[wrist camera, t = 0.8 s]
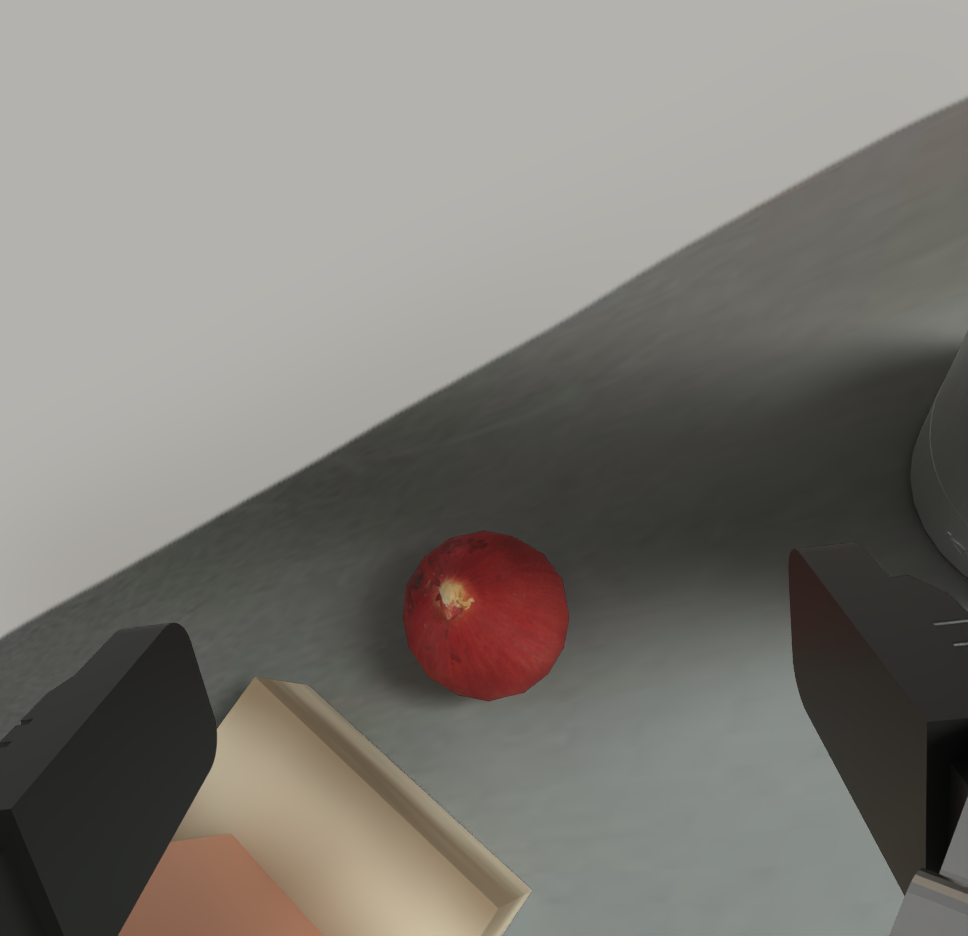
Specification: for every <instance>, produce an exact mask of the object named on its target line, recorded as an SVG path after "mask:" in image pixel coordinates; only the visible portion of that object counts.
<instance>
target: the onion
mask: <svg viewBox="0 0 968 936" xmlns="http://www.w3.org/2000/svg"><path fill="white" fill-rule="evenodd" d="M403 621H404V626H405V631H406V636H407V640H408V645H409V648H410V650H411V651H412V653H413V655H414V656H415V658H416V659H417V661H418V662H419V664H420V665H421V667H422V668H423V670H424V671H425V673H426V674H427V675H428V677H430V678H432V679H433V680H435V681H436V682H438V683H440V684H441V685H443V686H444V687H446V688H447V689H449V690H451V691H452V692H454V693H456V694H458V695H460V696H465V697H470V698H475V699H480V700H484V701H492V700H495V699H499V698H503V697H507V696H512V695H516V694H521V693H524V692H526V691H527V690H528V689H529V688H531V687H532V686H533V685H535V684H536V683H537V682H539V681H540V680H541V679H542V678H544V677H545V676H546V675H548V673H549V672H550V670H551V668H552V667H553V665H554V663H555V661H556V660H557V658H558V656H559V655H560V653H561V651H562V650H563V648H564V644H565V638H566V633H567V628H568V623H569V612H568V607H567V602H566V596H565V591H564V586H563V580H562V579H561V577H560V576H559V575H558V573H557V572H556V571H555V569H554V568H553V566H552V565H551V564H550V562H549V561H548V560H547V558H546V557H545V556H544V554H542V553H540V552H539V551H537V550H535V549H534V548H532V547H530V546H529V545H527V544H525V543H524V542H522V541H520V540H519V539H517V538H514V537H512V536H508V535H503V534H498V533H493V532H488V531H481V532H476V533H472V534H467V535H463V536H458V537H454V538H450V539H448V540H447V541H446V542H444V543H443V544H442V545H440V546H439V547H438V548H436V549H435V550H433V551H432V552H431V553H429V554H428V555H427V556H425V557H424V559H423V560H422V562H421V563H420V565H419V567H418V568H417V570H416V571H415V573H414V574H413V576H412V578H411V579H410V581H409V582H408V584H407V586H406V595H405V603H404V612H403Z"/></svg>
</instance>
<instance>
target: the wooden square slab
mask: <svg viewBox="0 0 968 936" xmlns="http://www.w3.org/2000/svg"><path fill="white" fill-rule="evenodd" d="M225 834H232V835H233V836H234V837H235V838H236V839H237V840H238V841H239V842H240V844H241V845H242V846H243V847H244V848H245V849H246V850H247V851H248V852H249V854H250V855H251V856H252V857H253V858H254V859H255V860H256V861H257V862H258V864H259V865H260V866H261V867H262V868H263V869H264V870H265V871H266V872H267V874H268V875H269V876H270V877H271V878H272V879H273V880H274V881H275V882H276V884H277V885H278V886H279V887H280V888H281V889H282V890H283V891H284V892H285V894H286V895H287V896H288V897H289V898H290V899H291V900H292V901H293V902H294V903H295V905H296V906H297V907H298V908H299V909H300V910H301V911H302V912H303V913H304V915H305V916H306V917H307V918H308V919H309V920H310V921H311V922H312V923H313V925H314V926H315V927H316V928H317V929H318V930H319V931H320V932H321V933H322V935H323V936H502V935H503V933H504V932H505V930H506V929H507V927H508V926H509V924H510V923H511V921H512V920H513V918H514V917H515V915H516V914H517V912H518V911H519V909H520V908H521V906H522V905H523V903H524V902H525V900H526V899H527V897H528V896H529V894H530V893H531V891H532V890H531V889H530V888H529V887H528V886H527V885H526V884H525V883H524V882H522V881H521V880H520V879H519V878H518V877H517V876H516V875H515V874H514V873H513V872H512V871H510V870H509V869H508V868H507V867H506V866H505V865H504V864H503V863H502V862H501V861H500V860H498V859H497V858H496V857H495V856H494V855H493V854H492V853H491V852H490V851H489V850H488V849H486V848H485V847H484V846H483V845H482V844H481V843H480V842H479V841H478V840H477V839H476V838H474V837H473V836H472V835H471V834H470V833H469V832H468V831H467V830H466V829H465V828H464V827H462V826H461V825H460V824H459V823H458V822H457V821H456V820H455V819H454V818H453V817H452V816H450V815H449V814H448V813H447V812H446V811H445V810H444V809H443V808H442V807H441V806H439V805H438V804H437V803H436V802H435V801H434V800H433V799H432V798H431V797H430V796H429V795H427V794H426V793H425V792H424V791H423V790H422V789H421V788H420V787H419V786H418V785H417V784H415V783H414V782H413V781H412V780H411V779H410V778H409V777H408V776H407V775H406V774H405V773H403V772H402V771H401V770H400V769H399V768H398V767H397V766H396V765H395V764H394V763H393V762H391V761H390V760H389V759H388V758H387V757H386V756H385V755H384V754H383V753H382V752H381V751H379V750H378V749H377V748H376V747H375V746H374V745H373V744H372V743H371V742H370V741H369V740H367V739H366V738H365V737H364V736H363V735H362V734H361V733H360V732H359V731H358V730H357V729H355V728H354V727H353V726H352V725H351V724H350V723H349V722H348V721H347V720H346V719H345V718H343V717H342V716H341V715H340V714H339V713H338V712H337V711H336V710H335V709H334V708H333V707H331V706H330V705H329V704H328V703H327V702H326V701H325V700H324V699H323V698H322V697H321V696H319V695H318V694H317V693H316V692H315V691H314V690H313V689H312V688H311V687H310V686H308V685H302V684H296V683H290V682H284V681H278V680H272V679H266V678H260V677H254V678H253V680H252V681H251V683H250V684H249V685H248V687H247V688H246V690H245V691H244V692H243V694H242V695H241V696H240V698H239V699H238V701H237V702H236V703H235V705H234V706H233V708H232V709H231V710H230V712H229V713H228V714H227V716H226V717H225V719H224V720H223V721H222V723H221V724H220V726H219V727H218V728H217V749H216V755H215V760H214V763H213V766H212V768H211V770H210V772H209V774H208V775H207V777H206V779H205V781H204V783H203V784H202V786H201V788H200V790H199V792H198V793H197V795H196V797H195V799H194V801H193V802H192V804H191V806H190V808H189V809H188V811H187V813H186V815H185V817H184V818H183V820H182V822H181V824H180V826H179V827H178V829H177V831H176V833H175V835H174V836H173V838H172V840H171V842H174V841H181V840H189V839H196V838H203V837H211V836H218V835H225Z"/></svg>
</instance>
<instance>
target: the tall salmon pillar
mask: <svg viewBox="0 0 968 936" xmlns="http://www.w3.org/2000/svg"><path fill="white" fill-rule="evenodd" d="M118 936H323V935H322V933H321V932H320V931H319V930H318V929H317V928H316V927H315V926H314V925H313V923H312V922H311V921H310V920H309V919H308V918H307V917H306V916H305V915H304V913H303V912H302V911H301V910H300V909H299V908H298V907H297V906H296V905H295V903H294V902H293V901H292V900H291V899H290V898H289V897H288V896H287V895H286V894H285V892H284V891H283V890H282V889H281V888H280V887H279V886H278V885H277V884H276V882H275V881H274V880H273V879H272V878H271V877H270V876H269V875H268V874H267V872H266V871H265V870H264V869H263V868H262V867H261V866H260V865H259V864H258V862H257V861H256V860H255V859H254V858H253V857H252V856H251V855H250V854H249V852H248V851H247V850H246V849H245V848H244V847H243V846H242V845H241V844H240V842H239V841H238V840H237V839H236V838H235V837H234V836H233V835H232V834H225V835H218V836H211V837H203V838H196V839H189V840H181V841H174V842H170V843H169V845H168V847H167V849H166V851H165V852H164V854H163V856H162V858H161V860H160V861H159V863H158V865H157V867H156V869H155V870H154V872H153V874H152V876H151V878H150V879H149V881H148V883H147V885H146V886H145V888H144V890H143V892H142V894H141V895H140V897H139V899H138V901H137V903H136V904H135V906H134V908H133V910H132V912H131V913H130V915H129V917H128V919H127V920H126V922H125V924H124V926H123V928H122V929H121V931H120V933H119V935H118Z"/></svg>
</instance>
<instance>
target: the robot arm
mask: <svg viewBox="0 0 968 936" xmlns="http://www.w3.org/2000/svg"><path fill="white" fill-rule="evenodd" d="M910 481H911V487H912V494H913V500H914V505H915V507H916V510H917V512H918V515H919V517H920V519H921V522H922V524H923V527H924V529H925V531H926V532H927V534H928V535H929V536H930V538H931V539H932V541H933V542H934V544H935V545H936V547H937V548H938V549H939V551H940V552H941V554H942V555H943V556H944V557H945V558H947V559H948V560H949V561H950V562H951V563H952V564H953V565H954V566H955V567H956V568H957V569H958V570H959V571H960V572H961V573H962V574H963V575H964V576H966V577H967V578H968V331H967V333H966V336H965V338H964V340H963V342H962V344H961V346H960V348H959V350H958V352H957V355H956V357H955V359H954V361H953V363H952V365H951V367H950V369H949V371H948V374H947V376H946V378H945V380H944V382H943V383H942V385H941V387H940V389H939V392H938V394H937V396H936V398H935V400H934V402H933V404H932V406H931V409H930V411H929V413H928V415H927V417H926V419H925V421H924V424H923V426H922V428H921V430H920V433H919V436H918V439H917V441H916V444H915V447H914V450H913V452H912V463H911V473H910ZM788 567H789V591H790V611H791V631H792V652H793V665H794V672H795V678H796V682H797V687H798V690H799V694H800V697H801V700H802V703H803V705H804V708H805V710H806V712H807V714H808V716H809V718H810V720H811V721H812V723H813V725H814V727H815V729H816V731H817V733H818V735H819V736H820V738H821V740H822V742H823V744H824V746H825V748H826V750H827V751H828V753H829V755H830V757H831V759H832V761H833V763H834V765H835V766H836V768H837V770H838V772H839V774H840V776H841V778H842V780H843V781H844V783H845V785H846V787H847V789H848V791H849V793H850V795H851V796H852V798H853V800H854V802H855V804H856V806H857V808H858V809H859V811H860V813H861V815H862V817H863V819H864V821H865V823H866V824H867V826H868V828H869V830H870V832H871V834H872V836H873V838H874V839H875V841H876V843H877V845H878V847H879V849H880V851H881V853H882V854H883V856H884V858H885V860H886V862H887V864H888V866H889V868H890V869H891V871H892V873H893V875H894V877H895V879H896V881H897V883H898V884H899V886H900V888H901V890H902V892H903V894H904V896H905V897H904V900H903V902H902V905H901V907H900V910H899V912H898V915H897V917H896V920H895V922H894V925H893V927H892V930H891V932H890V935H889V936H968V612H967V611H966V610H965V609H964V608H963V607H962V606H961V605H960V604H959V603H958V602H956V601H955V600H954V599H953V598H952V597H951V596H950V595H949V594H948V593H946V592H944V591H942V590H940V589H937V588H935V587H933V586H931V585H929V584H927V583H924V582H922V581H920V580H918V579H916V578H914V577H911V576H909V575H907V576H898V577H889V576H888V575H887V574H886V573H885V572H884V571H883V570H882V568H881V567H880V566H879V565H878V564H877V563H876V562H875V561H874V560H873V559H872V558H871V557H870V556H869V555H868V554H867V553H866V551H865V550H864V549H863V548H862V547H861V546H860V545H859V544H858V543H856V542H849V543H840V544H832V545H824V546H816V547H807V548H799V549H793V550H792V551H791V553H790V556H789V566H788ZM216 749H217V728H216V722H215V718H214V715H213V712H212V708H211V705H210V702H209V699H208V695H207V692H206V689H205V686H204V683H203V679H202V676H201V673H200V670H199V666H198V663H197V660H196V657H195V653H194V650H193V647H192V644H191V641H190V638H189V636H188V634H187V632H186V630H185V629H184V628H183V627H182V626H181V625H180V624H178V623H168V624H160V625H151V626H143V627H135V628H127V629H121V630H119V631H117V632H116V633H115V634H114V635H113V636H112V637H111V638H110V639H109V640H108V641H107V642H106V643H105V644H104V645H103V646H102V647H101V648H100V649H99V650H98V652H97V653H96V654H95V655H94V656H93V657H92V658H91V659H90V660H89V661H88V662H87V663H86V664H85V665H84V666H83V667H82V668H81V669H80V670H79V671H78V673H77V674H76V675H74V676H73V677H71V678H70V679H68V680H67V681H65V682H64V683H62V684H61V685H59V686H58V687H56V688H55V689H53V690H52V691H50V692H49V693H47V694H46V695H45V696H44V697H43V698H42V699H41V700H40V701H39V702H38V703H37V704H36V705H35V706H34V708H33V709H32V710H31V711H30V712H29V713H28V714H27V715H26V716H25V717H24V718H23V719H22V720H21V725H17V726H15V727H14V728H13V729H12V730H11V731H10V732H9V733H8V734H7V735H6V736H5V737H4V738H3V739H2V740H1V741H0V936H118V935H119V933H120V931H121V929H122V928H123V926H124V924H125V922H126V920H127V919H128V917H129V915H130V913H131V912H132V910H133V908H134V906H135V904H136V903H137V901H138V899H139V897H140V895H141V894H142V892H143V890H144V888H145V886H146V885H147V883H148V881H149V879H150V878H151V876H152V874H153V872H154V870H155V869H156V867H157V865H158V863H159V861H160V860H161V858H162V856H163V854H164V852H165V851H166V849H167V847H168V845H169V843H170V842H171V840H172V838H173V836H174V835H175V833H176V831H177V829H178V827H179V826H180V824H181V822H182V820H183V818H184V817H185V815H186V813H187V811H188V809H189V808H190V806H191V804H192V802H193V801H194V799H195V797H196V795H197V793H198V792H199V790H200V788H201V786H202V784H203V783H204V781H205V779H206V777H207V775H208V774H209V772H210V770H211V768H212V766H213V763H214V760H215V755H216Z"/></svg>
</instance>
